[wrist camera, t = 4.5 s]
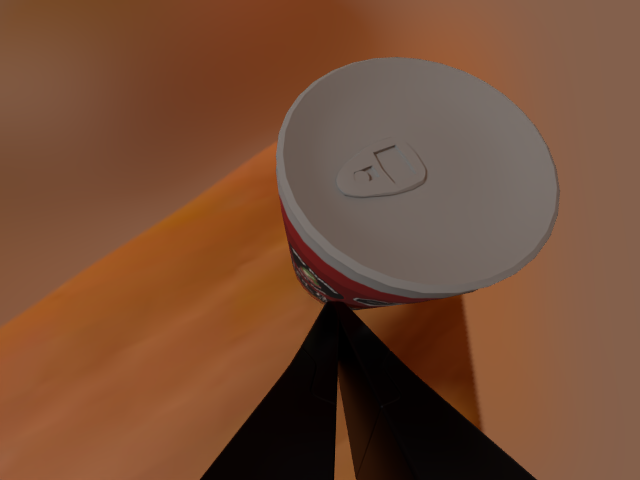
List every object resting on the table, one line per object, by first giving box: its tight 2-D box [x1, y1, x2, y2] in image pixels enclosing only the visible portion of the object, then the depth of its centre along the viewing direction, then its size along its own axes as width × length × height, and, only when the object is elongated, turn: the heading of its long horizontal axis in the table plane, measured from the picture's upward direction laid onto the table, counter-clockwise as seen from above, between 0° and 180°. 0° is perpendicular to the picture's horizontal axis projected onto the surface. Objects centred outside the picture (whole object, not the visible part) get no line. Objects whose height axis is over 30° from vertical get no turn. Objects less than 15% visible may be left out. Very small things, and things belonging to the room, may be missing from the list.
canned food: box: [276, 57, 560, 310], centre depth 11 cm, size 8×8×11 cm
